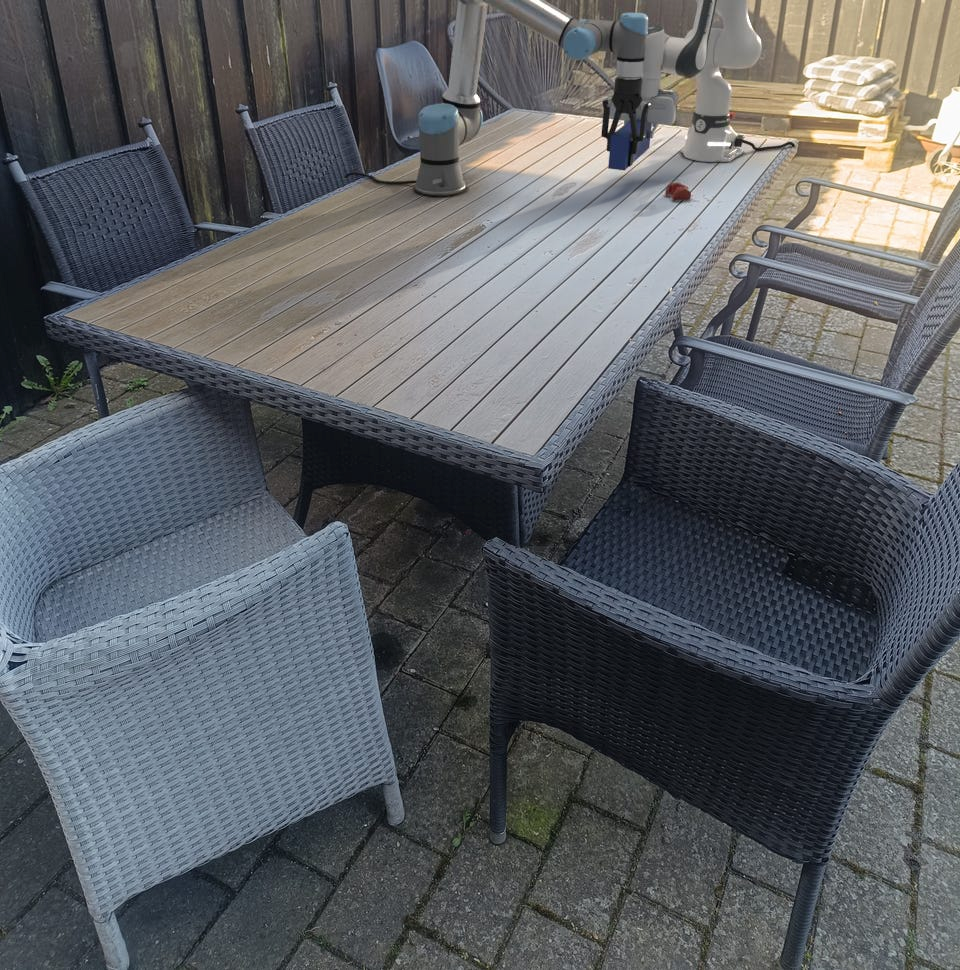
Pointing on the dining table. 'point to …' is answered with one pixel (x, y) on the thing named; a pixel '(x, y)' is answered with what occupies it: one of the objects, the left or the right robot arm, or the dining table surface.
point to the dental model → (678, 191)
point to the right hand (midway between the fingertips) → (639, 136)
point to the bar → (626, 146)
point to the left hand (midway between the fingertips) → (620, 164)
